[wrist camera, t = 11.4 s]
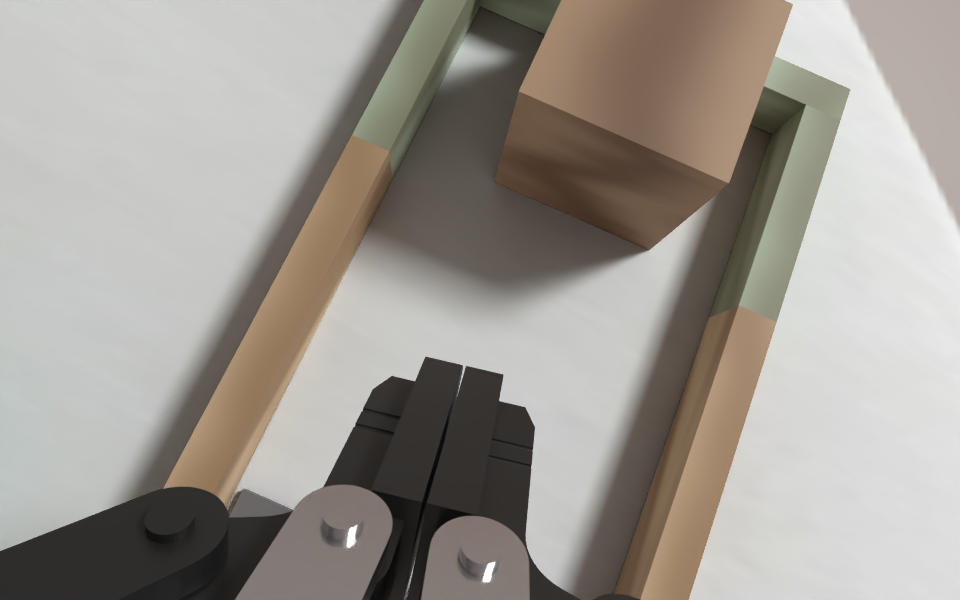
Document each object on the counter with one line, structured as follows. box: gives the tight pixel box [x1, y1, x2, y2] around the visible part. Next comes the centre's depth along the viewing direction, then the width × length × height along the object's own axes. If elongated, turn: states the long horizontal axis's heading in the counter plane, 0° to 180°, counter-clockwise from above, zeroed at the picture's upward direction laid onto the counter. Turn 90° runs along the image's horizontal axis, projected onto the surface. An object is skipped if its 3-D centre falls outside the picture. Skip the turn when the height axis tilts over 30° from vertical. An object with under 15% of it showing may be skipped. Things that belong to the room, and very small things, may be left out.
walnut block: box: [494, 0, 793, 250], centre depth 23 cm, size 7×7×7 cm
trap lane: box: [163, 0, 850, 600], centre depth 23 cm, size 17×30×2 cm, turn 157°
